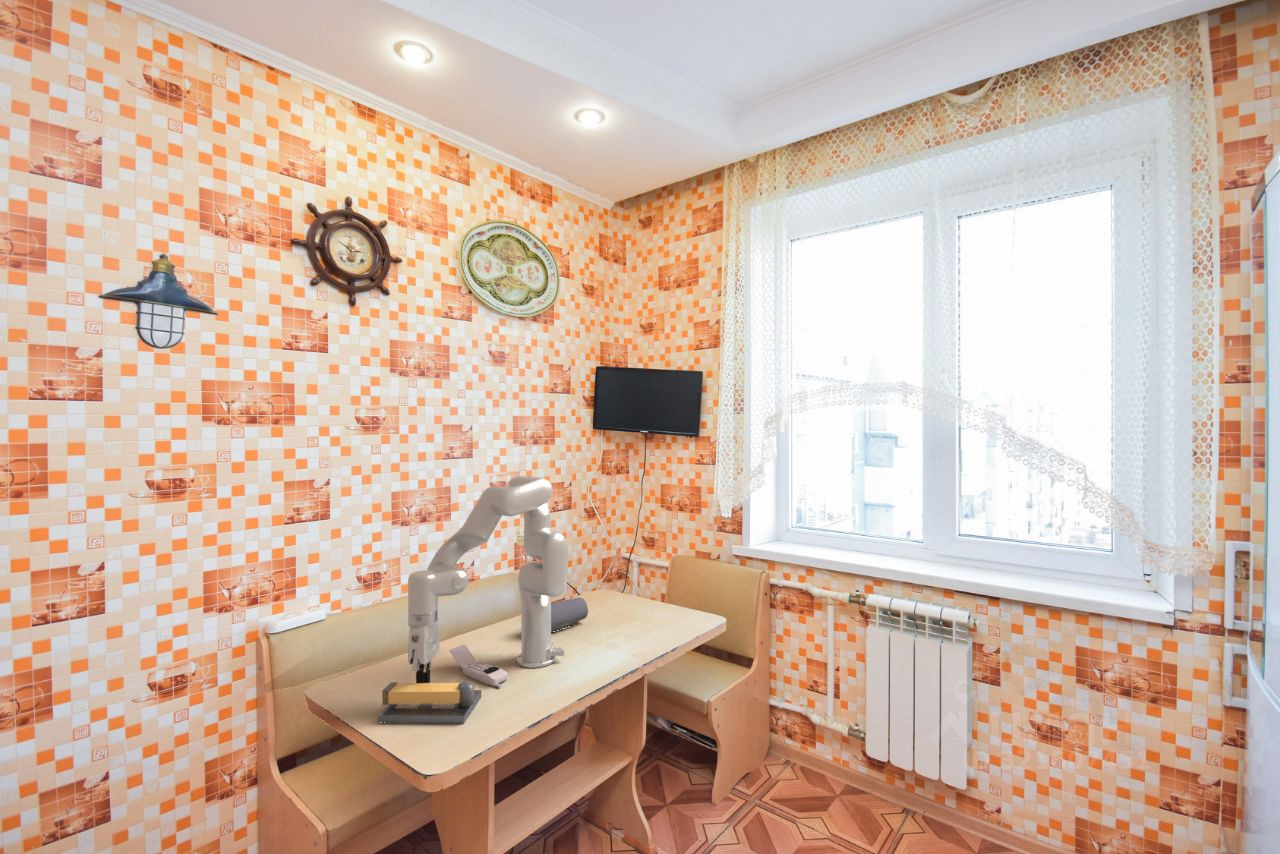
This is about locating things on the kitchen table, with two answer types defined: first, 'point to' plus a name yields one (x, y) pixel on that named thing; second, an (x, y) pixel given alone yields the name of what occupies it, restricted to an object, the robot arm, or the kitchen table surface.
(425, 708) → the plate
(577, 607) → the bluetooth speaker
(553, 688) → the kitchen table surface
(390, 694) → the bar
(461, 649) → the mobile phone
